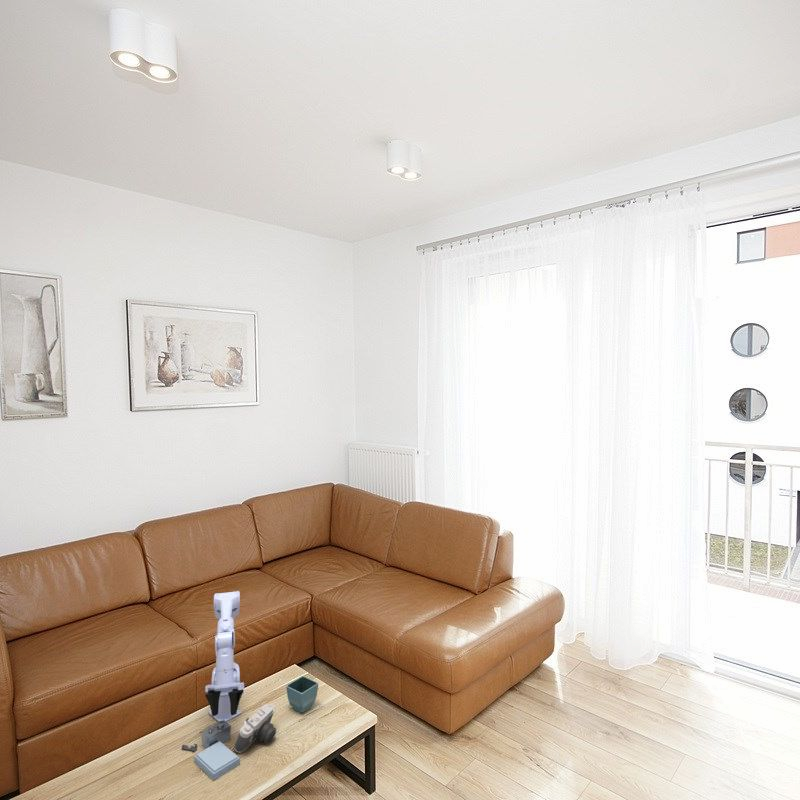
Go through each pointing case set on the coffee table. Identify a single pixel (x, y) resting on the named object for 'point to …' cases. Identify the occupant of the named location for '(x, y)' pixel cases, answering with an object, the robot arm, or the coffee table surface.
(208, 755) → the stand
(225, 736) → the block
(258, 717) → the camera
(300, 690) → the flower pot
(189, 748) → the bolt
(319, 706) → the coffee table surface
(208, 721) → the coffee table surface
